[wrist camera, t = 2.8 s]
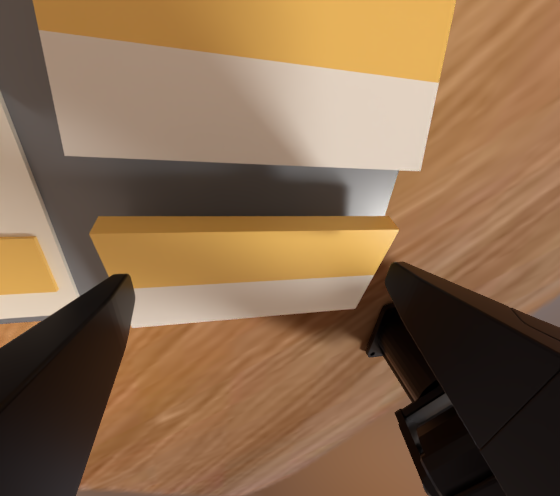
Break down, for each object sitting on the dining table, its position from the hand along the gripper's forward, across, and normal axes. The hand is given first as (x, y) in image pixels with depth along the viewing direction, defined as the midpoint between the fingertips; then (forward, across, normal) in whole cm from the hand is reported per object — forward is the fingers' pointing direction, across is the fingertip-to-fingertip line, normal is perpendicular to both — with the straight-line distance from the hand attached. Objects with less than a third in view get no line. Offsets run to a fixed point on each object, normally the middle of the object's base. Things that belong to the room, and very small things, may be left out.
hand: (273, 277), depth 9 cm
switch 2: (+4, 0, +2) cm, 4 cm away
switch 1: (+4, 0, -6) cm, 7 cm away
